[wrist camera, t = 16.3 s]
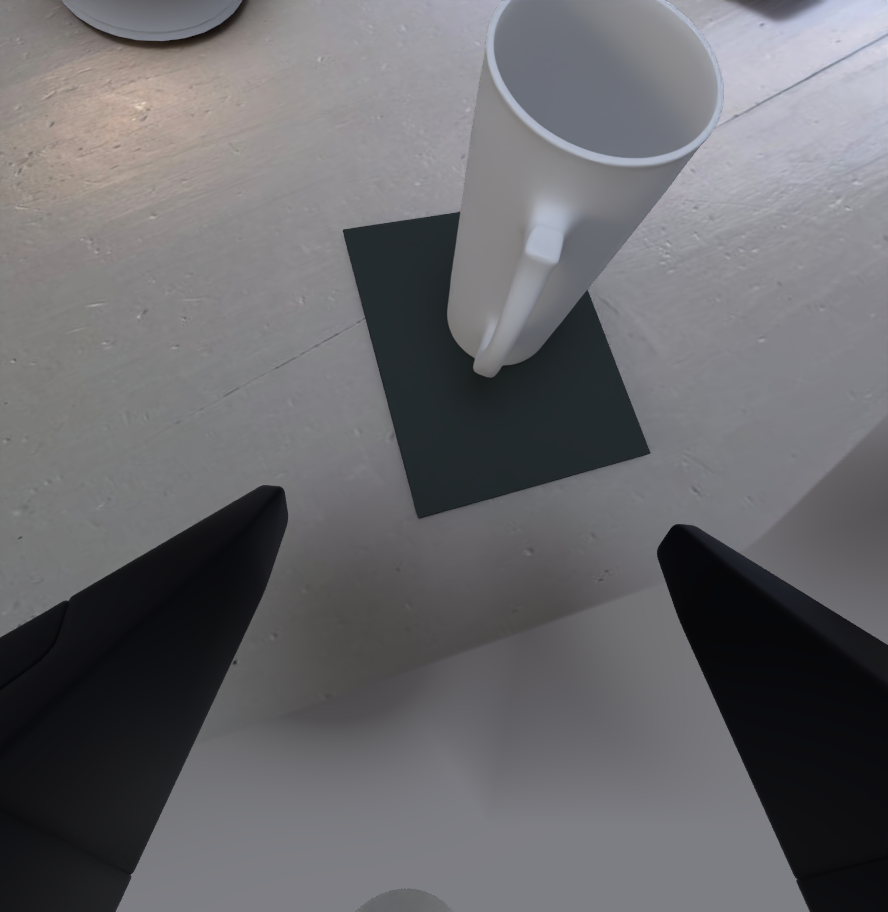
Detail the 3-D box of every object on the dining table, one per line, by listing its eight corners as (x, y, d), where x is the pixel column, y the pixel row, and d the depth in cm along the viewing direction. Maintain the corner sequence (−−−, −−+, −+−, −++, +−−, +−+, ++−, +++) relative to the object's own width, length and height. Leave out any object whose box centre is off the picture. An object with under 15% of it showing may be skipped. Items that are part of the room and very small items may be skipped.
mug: (462, 254, 22) (526, -63, 10) (563, 292, 22) (740, 24, 10) (407, 397, 20) (405, 206, 8) (519, 438, 20) (681, 310, 8)
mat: (646, 454, 21) (650, 453, 20) (418, 518, 19) (418, 518, 18) (550, 203, 24) (552, 197, 23) (343, 234, 22) (342, 229, 21)
